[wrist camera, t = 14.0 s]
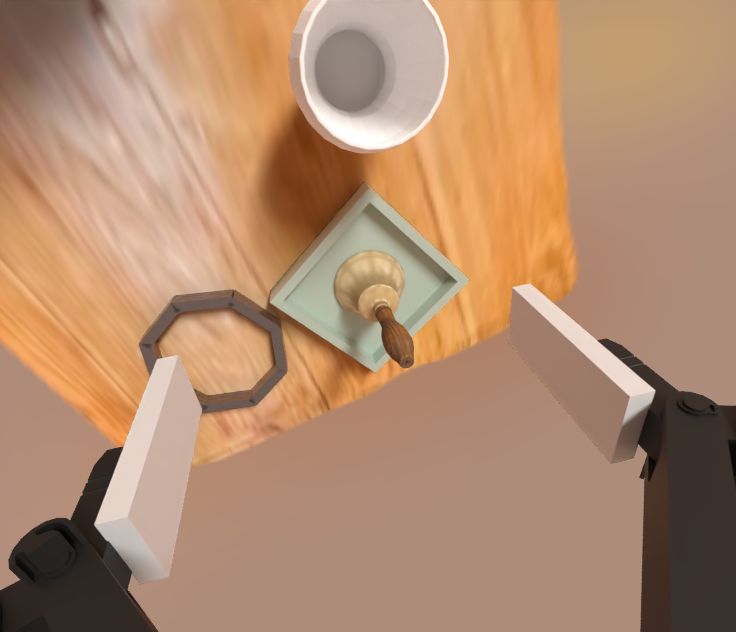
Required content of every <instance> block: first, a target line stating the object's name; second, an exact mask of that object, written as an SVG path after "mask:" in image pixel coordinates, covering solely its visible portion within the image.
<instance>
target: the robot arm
mask: <svg viewBox="0 0 736 632" xmlns="http://www.w3.org/2000/svg"><path fill="white" fill-rule="evenodd" d="M508 343H509V344H510V345H511V346H512V348H513V349H514V350H515V351H516V353H517V354H518V355H519V356H520V357H521V358H522V360H523V361H524V362H525V363H526V364H527V366H528V367H529V368H530V369H531V370H532V371H533V373H535V375H536V376H537V377H538V379H539V380H540V381H541V382H542V383H543V384H544V386H545V387H546V388H547V389H548V390H549V391H550V393H551V394H552V395H553V396H554V397H555V399H556V400H557V401H558V402H559V403H560V404H561V406H562V407H563V408H564V409H565V410H566V412H567V413H568V414H569V415H570V416H571V417H572V418H573V420H574V421H575V422H576V423H577V425H578V426H579V427H580V428H581V429H582V430H583V432H584V433H585V434H586V435H587V436H588V438H589V439H590V440H591V441H592V442H593V443H594V445H595V446H596V447H597V448H598V449H599V451H600V452H601V453H602V454H603V455H604V456H605V458H606V459H607V460H608V461H609V462H610V463H611V464H613V463H617V462H620V461H624V460H628V459H632V458H634V456H635V453H636V449H637V447H638V444H639V445H640V446H641V447H642V449H644V451H645V452H646V453H647V457H646V460H645V463H644V466H643V469H642V472H641V474H640V478H641V479H644V477H645V481H644V517H643V518H644V519H643V520H644V521H643V554H642V592H641V594H642V595H641V629H640V632H736V406H722V405H721V406H720V405H717V404H716V403H715V402H713V401H712V400H710V399H708V398H707V397H705V396H703V395H699V394H696V393H692V392H684V391H681V392H679V391H678V390H676V389H675V388H674V387H673V386H671V385H670V384H669V383H668V382H666V381H665V380H664V379H663V378H662V377H660V376H659V375H658V374H657V373H655V372H654V371H653V370H652V369H650V368H649V367H648V366H646V365H644V364H643V362H641V361H640V360H639V359H638V358H637V357H634V355H633V354H632V353H630V352H629V351H628V350H627V349H626V348H624V347H623V346H622V345H619V344H617V343H615V342H613V341H610V340H608V339H602V340H598V341H597V340H596V339H594V338H593V337H592V336H591V335H590V334H589V333H587V332H586V331H585V330H584V329H583V328H581V327H580V326H579V325H578V324H577V323H576V322H575V321H573V320H572V319H571V318H570V317H569V316H567V315H566V314H565V313H564V312H563V311H562V310H560V309H559V308H558V307H557V306H556V305H555V304H553V303H552V302H551V301H550V300H549V299H548V298H546V297H545V296H544V295H543V294H542V293H541V292H539V291H538V290H537V289H536V288H535V287H534V286H532V285H531V284H526V285H521V286H516V287H512V300H511V313H510V326H509V340H508ZM201 412H202V408H201V406H200V403H199V401H198V399H197V396H196V394H195V392H194V390H193V387H192V385H191V383H190V380H189V378H188V376H187V374H186V371H185V369H184V367H183V364H182V362H181V360H180V358H179V355H176V356H171V357H166V358H161V359H157V361H156V363H155V366H154V368H153V371H152V374H151V376H150V379H149V382H148V384H147V387H146V390H145V392H144V395H143V397H142V400H141V403H140V405H139V408H138V411H137V413H136V416H135V418H134V421H133V424H132V426H131V429H130V432H129V434H128V437H127V440H126V442H125V445H124V446H123V447H119V448H114V449H110V450H107V451H106V452H105V453H104V454H103V456H102V457H101V458H100V459H99V460H98V461H97V463H96V464H95V465H94V467H93V470H92V472H91V474H90V476H89V479H88V483H86V486H85V488H84V490H83V495H82V496H81V497H80V499H79V501H78V504H77V506H76V508H75V511H74V513H73V515H72V518H71V520H68V519H67V518H55V519H52V520H49V521H46V522H44V523H42V524H40V525H39V526H37V527H35V528H33V529H32V530H31V531H30V532H29V533H27V534H26V535H25V536H24V537H23V538H21V540H20V541H19V543H18V544H17V545H16V546H15V547H14V549H13V550H12V553H11V555H10V558H9V569H10V570H11V571H12V572H13V573H14V574H15V575H16V576H17V577H18V578H20V579H21V580H19V581H17V582H16V583H14V584H12V585H10V586H8V587H6V588H4V589H2V590H0V632H158V630H157V629H156V628H155V626H154V625H153V623H152V622H151V621H150V620H149V618H148V617H147V616H146V614H145V612H144V611H143V610H142V608H141V607H140V606H139V604H138V603H137V601H136V600H135V599H134V598H133V596H132V595H131V593H130V592H129V591H128V590H127V589H128V585H129V582H130V578H131V574H133V576H134V577H135V578H136V580H137V581H138V582H139V583H140V584H144V583H148V582H152V581H156V580H160V579H163V578H167V577H169V576H170V570H171V566H172V561H173V556H174V550H175V545H176V540H177V535H178V530H179V525H180V519H181V515H182V509H183V504H184V499H185V494H186V488H187V484H188V479H189V473H190V469H191V464H192V458H193V453H194V448H195V443H196V438H197V433H198V428H199V423H200V418H201Z"/></svg>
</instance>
